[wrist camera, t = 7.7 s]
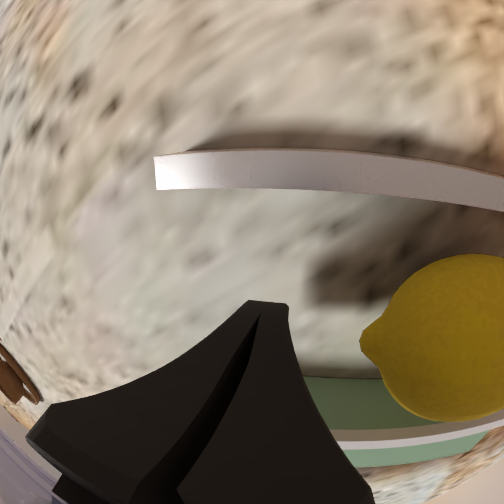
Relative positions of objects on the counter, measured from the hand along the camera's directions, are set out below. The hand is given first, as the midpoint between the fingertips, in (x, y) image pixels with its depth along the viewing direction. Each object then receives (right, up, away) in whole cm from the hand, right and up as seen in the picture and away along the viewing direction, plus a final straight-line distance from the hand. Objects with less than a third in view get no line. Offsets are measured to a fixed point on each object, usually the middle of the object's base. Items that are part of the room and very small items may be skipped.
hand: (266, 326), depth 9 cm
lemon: (+3, 0, -1) cm, 3 cm away
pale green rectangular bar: (+5, -6, +3) cm, 8 cm away
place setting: (-40, -15, +19) cm, 47 cm away
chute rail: (+5, +5, -1) cm, 7 cm away
